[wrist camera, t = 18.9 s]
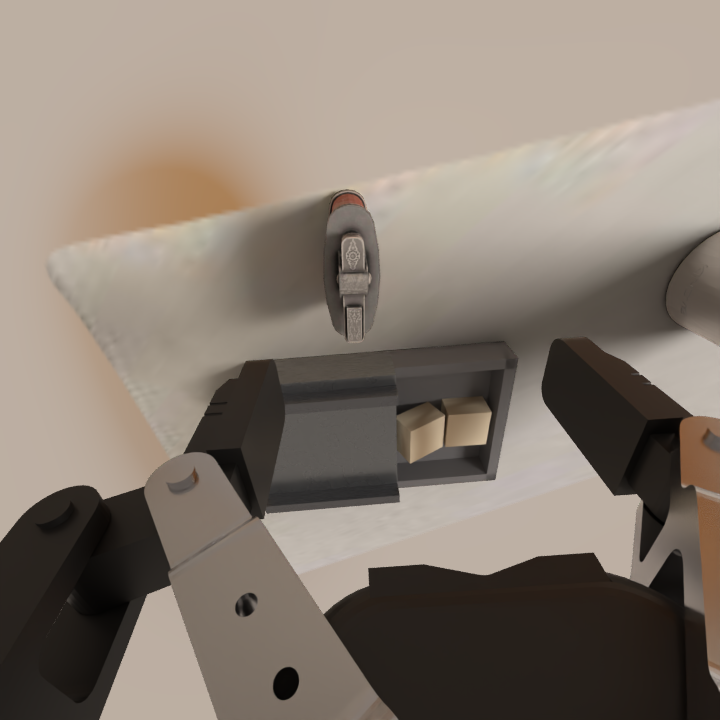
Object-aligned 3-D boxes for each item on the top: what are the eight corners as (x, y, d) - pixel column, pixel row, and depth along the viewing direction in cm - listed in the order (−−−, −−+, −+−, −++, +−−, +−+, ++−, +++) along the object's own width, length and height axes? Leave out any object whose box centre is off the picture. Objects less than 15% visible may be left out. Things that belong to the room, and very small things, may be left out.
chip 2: (448, 415, 34) (442, 398, 36) (445, 446, 36) (439, 429, 38) (491, 412, 34) (482, 396, 36) (485, 444, 36) (477, 427, 38)
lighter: (323, 189, 26) (316, 213, 18) (370, 189, 26) (386, 212, 18) (329, 296, 30) (326, 357, 22) (370, 295, 30) (383, 355, 22)
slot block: (389, 350, 33) (398, 385, 28) (392, 466, 41) (399, 508, 36) (246, 361, 33) (231, 398, 28) (276, 476, 41) (268, 519, 36)
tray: (504, 341, 33) (518, 358, 31) (485, 458, 41) (495, 479, 38) (389, 350, 33) (394, 368, 31) (392, 466, 41) (396, 488, 38)
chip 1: (427, 401, 36) (445, 415, 34) (426, 432, 38) (442, 446, 36) (394, 416, 34) (410, 431, 32) (394, 447, 36) (410, 463, 34)
